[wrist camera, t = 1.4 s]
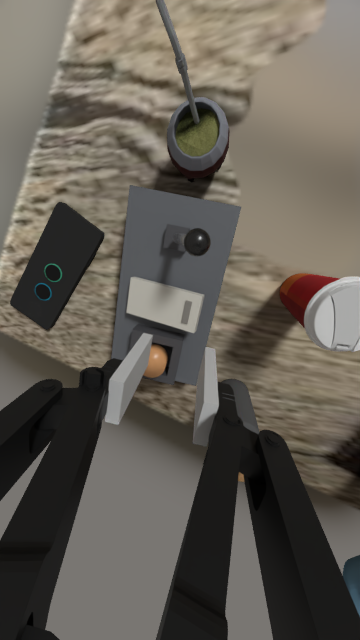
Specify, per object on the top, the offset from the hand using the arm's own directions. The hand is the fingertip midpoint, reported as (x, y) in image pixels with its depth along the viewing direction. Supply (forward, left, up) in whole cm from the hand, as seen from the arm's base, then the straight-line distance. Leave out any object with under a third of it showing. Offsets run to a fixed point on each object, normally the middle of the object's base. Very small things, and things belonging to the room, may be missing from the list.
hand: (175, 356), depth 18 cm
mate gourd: (+3, -19, -21) cm, 29 cm away
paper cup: (-16, -4, -21) cm, 26 cm away
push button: (+4, +8, -14) cm, 16 cm away
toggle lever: (+3, -8, -14) cm, 17 cm away
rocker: (+3, 0, -14) cm, 14 cm away
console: (+3, 0, -21) cm, 21 cm away
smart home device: (+23, 0, -21) cm, 31 cm away
